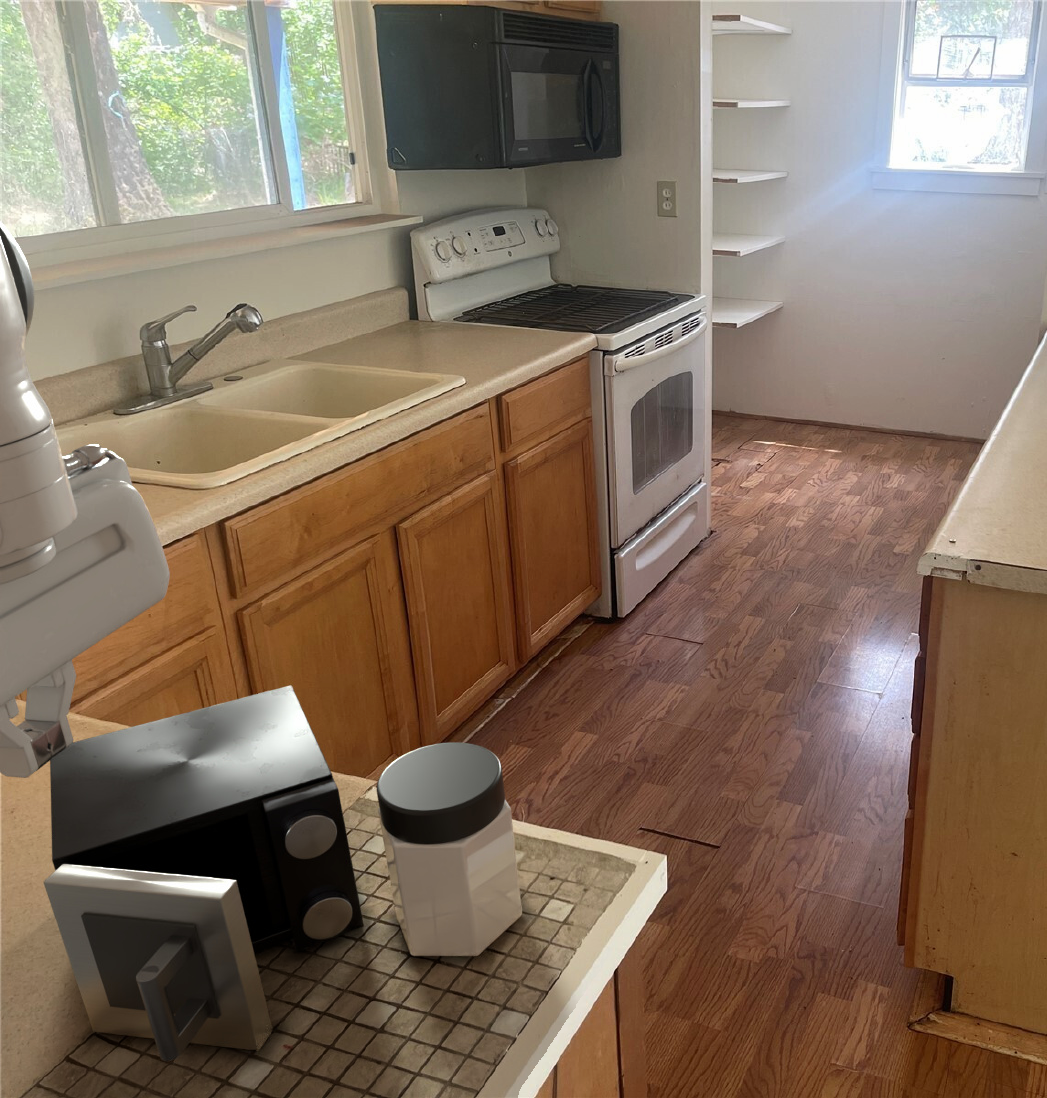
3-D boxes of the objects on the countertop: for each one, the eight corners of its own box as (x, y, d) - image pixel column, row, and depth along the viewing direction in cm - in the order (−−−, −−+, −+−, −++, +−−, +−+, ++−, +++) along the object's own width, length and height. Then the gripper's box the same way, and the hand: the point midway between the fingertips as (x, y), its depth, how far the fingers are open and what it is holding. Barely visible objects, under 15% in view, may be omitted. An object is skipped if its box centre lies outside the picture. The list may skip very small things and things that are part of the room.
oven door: (224, 1103, 59) (180, 946, 54) (49, 1081, 60) (-8, 926, 56) (273, 1030, 64) (236, 879, 59) (110, 1011, 65) (62, 863, 61)
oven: (367, 936, 71) (340, 792, 67) (103, 1038, 63) (52, 883, 59) (316, 812, 84) (291, 684, 79) (92, 884, 76) (49, 748, 72)
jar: (533, 877, 77) (519, 740, 72) (510, 959, 69) (493, 812, 65) (413, 877, 77) (392, 740, 72) (378, 959, 69) (351, 812, 65)
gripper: (62, 432, 56) (123, 656, 61) (-355, 590, 37) (-215, 894, 42) (168, 435, 55) (221, 663, 60) (-203, 599, 36) (-80, 908, 42)
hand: (38, 760), depth 51 cm, fingers closed
